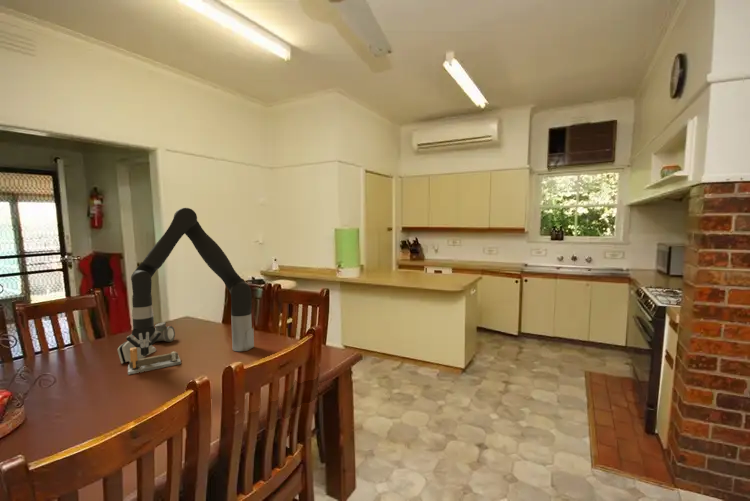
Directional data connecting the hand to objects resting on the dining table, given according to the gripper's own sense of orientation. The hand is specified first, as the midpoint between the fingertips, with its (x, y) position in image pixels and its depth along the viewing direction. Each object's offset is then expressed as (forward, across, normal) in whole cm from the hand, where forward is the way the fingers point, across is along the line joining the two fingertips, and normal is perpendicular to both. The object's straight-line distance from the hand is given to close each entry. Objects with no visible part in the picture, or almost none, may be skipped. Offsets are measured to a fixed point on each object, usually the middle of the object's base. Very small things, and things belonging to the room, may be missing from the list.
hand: (145, 355), depth 150 cm
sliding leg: (+3, -4, -2) cm, 5 cm away
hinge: (+5, -3, +15) cm, 16 cm away
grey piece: (+5, +3, -2) cm, 6 cm away
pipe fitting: (+5, +8, +34) cm, 35 cm away
